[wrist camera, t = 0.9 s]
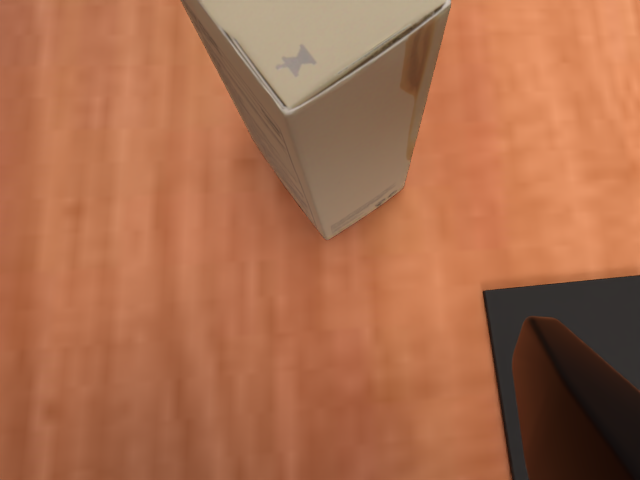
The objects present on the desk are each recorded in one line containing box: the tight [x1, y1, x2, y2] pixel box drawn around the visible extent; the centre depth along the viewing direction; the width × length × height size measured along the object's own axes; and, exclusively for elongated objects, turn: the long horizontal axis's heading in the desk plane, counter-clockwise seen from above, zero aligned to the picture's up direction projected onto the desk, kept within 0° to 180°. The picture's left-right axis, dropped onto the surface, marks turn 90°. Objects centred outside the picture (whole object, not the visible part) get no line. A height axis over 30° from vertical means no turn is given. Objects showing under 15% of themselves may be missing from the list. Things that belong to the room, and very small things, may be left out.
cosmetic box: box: [181, 0, 451, 240], centre depth 17 cm, size 6×4×12 cm
